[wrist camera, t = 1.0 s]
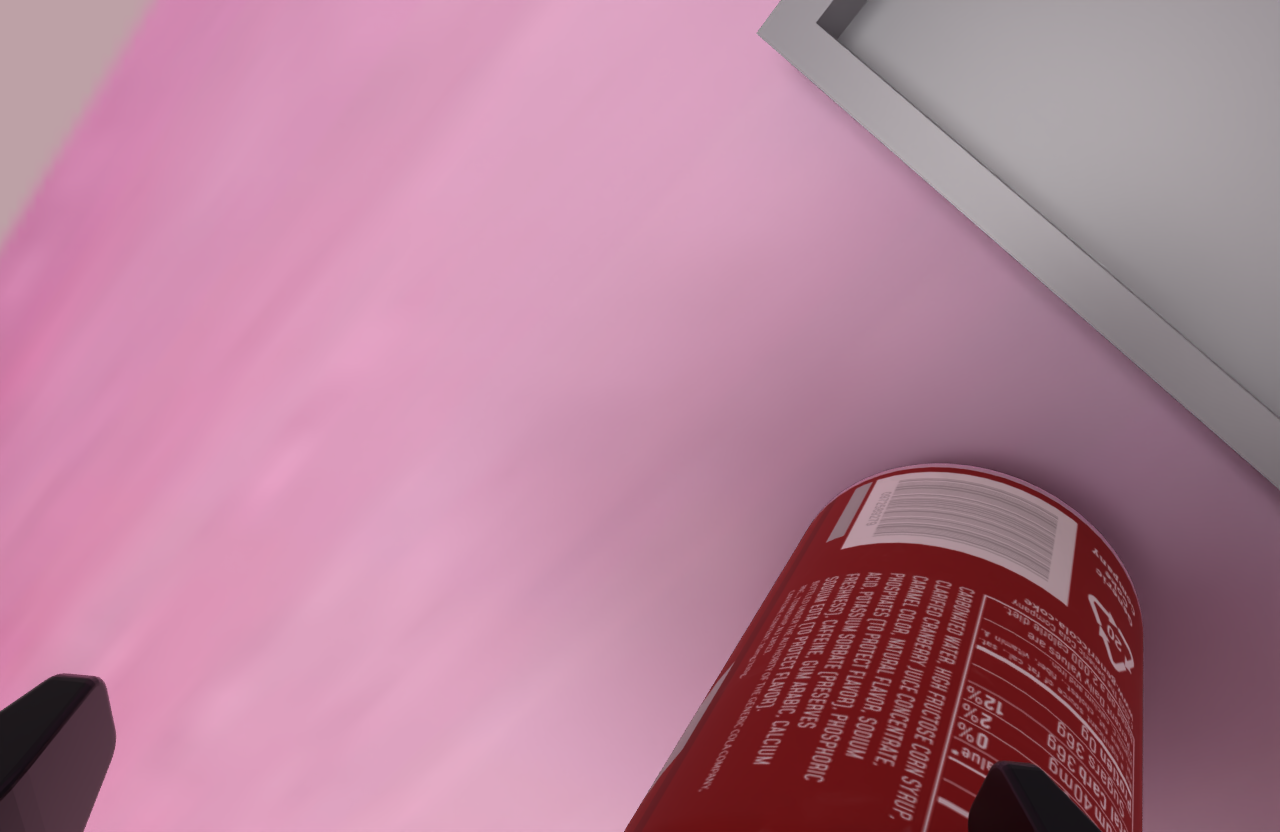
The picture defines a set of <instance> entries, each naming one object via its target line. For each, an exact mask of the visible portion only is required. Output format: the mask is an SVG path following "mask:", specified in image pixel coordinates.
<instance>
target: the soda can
mask: <svg viewBox="0 0 1280 832" xmlns="http://www.w3.org/2000/svg"><path fill="white" fill-rule="evenodd" d="M998 761H1014V762H1025V763H1031V764H1034V765H1036V766H1038V767H1039V768H1041V769H1042V770H1043V771H1044V772H1045V773H1046V774H1047V775H1048V776H1049V777H1050V778H1051V779H1052V780H1053V781H1054V782H1055V783H1056V784H1057V785H1058V786H1059V787H1060V788H1061V789H1062V790H1063V791H1064V793H1065V794H1066V795H1067V796H1068V797H1069V798H1070V799H1071V800H1072V801H1073V802H1074V803H1075V804H1076V805H1077V806H1078V807H1079V808H1080V809H1081V810H1082V811H1083V812H1084V813H1085V814H1086V815H1087V816H1088V817H1089V818H1090V819H1091V820H1092V821H1093V823H1094V824H1095V825H1096V826H1097V827H1098V828H1099V829H1100V830H1101V831H1102V832H1142V796H1143V621H1142V614H1141V608H1140V604H1139V600H1138V597H1137V593H1136V590H1135V588H1134V585H1133V583H1132V580H1131V578H1130V576H1129V574H1128V572H1127V570H1126V569H1125V567H1124V565H1123V563H1122V561H1121V560H1120V558H1119V557H1118V555H1117V554H1116V552H1115V551H1114V549H1113V548H1112V547H1111V545H1110V544H1109V543H1108V542H1107V541H1106V539H1105V538H1104V537H1103V536H1102V535H1101V533H1100V532H1099V531H1098V530H1097V529H1096V528H1095V527H1094V526H1093V525H1092V524H1091V523H1089V522H1088V521H1087V520H1086V519H1085V518H1084V517H1083V516H1081V515H1080V514H1079V513H1078V512H1077V511H1075V510H1074V509H1073V508H1071V507H1070V506H1069V505H1067V504H1066V503H1064V502H1063V501H1061V500H1060V499H1058V498H1057V497H1055V496H1053V495H1052V494H1050V493H1048V492H1046V491H1044V490H1043V489H1041V488H1039V487H1037V486H1034V485H1032V484H1030V483H1028V482H1026V481H1024V480H1021V479H1018V478H1016V477H1013V476H1010V475H1007V474H1004V473H1001V472H997V471H993V470H990V469H985V468H980V467H975V466H969V465H960V464H946V463H930V464H916V465H910V466H904V467H898V468H894V469H891V470H887V471H883V472H880V473H878V474H875V475H872V476H870V477H867V478H865V479H863V480H861V481H859V482H857V483H855V484H853V485H852V486H850V487H849V488H847V489H846V490H844V491H842V492H841V493H840V494H838V495H837V496H836V497H835V498H833V499H832V500H831V501H830V502H829V503H828V504H827V505H826V506H825V507H824V508H823V509H822V510H821V511H820V512H819V514H818V515H817V516H816V517H815V519H814V520H813V521H812V523H811V525H810V526H809V528H808V529H807V531H806V533H805V534H804V536H803V538H802V539H801V541H800V543H799V544H798V546H797V548H796V549H795V551H794V553H793V554H792V556H791V557H790V559H789V561H788V562H787V564H786V566H785V567H784V569H783V571H782V572H781V574H780V576H779V577H778V579H777V581H776V582H775V584H774V585H773V587H772V589H771V590H770V592H769V594H768V595H767V597H766V599H765V600H764V602H763V604H762V605H761V607H760V609H759V610H758V612H757V613H756V615H755V617H754V618H753V620H752V622H751V623H750V625H749V627H748V628H747V630H746V632H745V633H744V635H743V636H742V638H741V640H740V641H739V643H738V645H737V646H736V648H735V650H734V651H733V653H732V655H731V656H730V658H729V660H728V661H727V663H726V664H725V666H724V668H723V669H722V671H721V673H720V674H719V676H718V678H717V679H716V681H715V683H714V684H713V686H712V688H711V689H710V691H709V692H708V694H707V696H706V697H705V699H704V701H703V702H702V704H701V706H700V707H699V709H698V711H697V712H696V714H695V716H694V717H693V719H692V720H691V722H690V724H689V725H688V727H687V729H686V730H685V732H684V734H683V735H682V737H681V739H680V740H679V742H678V744H677V745H676V747H675V748H674V750H673V752H672V753H671V755H670V757H669V758H668V760H667V762H666V763H665V765H664V767H663V768H662V770H661V772H660V773H659V775H658V776H657V778H656V780H655V781H654V783H653V785H652V786H651V788H650V790H649V791H648V793H647V795H646V796H645V798H644V799H643V801H642V803H641V804H640V806H639V808H638V809H637V811H636V813H635V814H634V816H633V818H632V819H631V821H630V823H629V824H628V826H627V827H626V829H625V831H624V832H968V816H969V811H970V808H971V806H972V804H973V802H974V800H975V798H976V796H977V794H978V792H979V790H980V788H981V786H982V784H983V782H984V780H985V778H986V776H987V774H988V772H989V770H990V768H991V767H992V765H993V764H995V763H996V762H998Z"/></svg>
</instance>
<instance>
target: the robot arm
mask: <svg viewBox="0 0 1280 832" xmlns="http://www.w3.org/2000/svg"><path fill="white" fill-rule="evenodd" d="M115 744H116V730H115V725H114V721H113V716H112V711H111V706H110V702H109V697H108V692H107V688H106V685H105V683H104V681H103V680H102V679H101V678H99V677H96V676H88V675H77V674H57V675H55V676H52V677H50V678H48V679H47V680H45V681H44V682H42V683H41V684H39V685H38V686H36V687H35V688H33V689H32V690H31V691H29V692H28V693H26V694H25V695H23V696H22V697H20V698H19V699H17V700H16V701H15V702H13V703H12V704H10V705H9V706H7V707H6V708H4V709H3V710H1V711H0V832H84V829H85V827H86V824H87V821H88V819H89V816H90V814H91V811H92V809H93V806H94V803H95V801H96V798H97V796H98V793H99V791H100V788H101V786H102V783H103V780H104V778H105V775H106V773H107V770H108V768H109V765H110V763H111V760H112V757H113V754H114V750H115ZM968 832H1102V831H1101V830H1100V829H1099V828H1098V827H1097V826H1096V825H1095V824H1094V823H1093V821H1092V820H1091V819H1090V818H1089V817H1088V816H1087V815H1086V814H1085V813H1084V812H1083V811H1082V810H1081V809H1080V808H1079V807H1078V806H1077V805H1076V804H1075V803H1074V802H1073V801H1072V800H1071V799H1070V798H1069V797H1068V796H1067V795H1066V794H1065V793H1064V791H1063V790H1062V789H1061V788H1060V787H1059V786H1058V785H1057V784H1056V783H1055V782H1054V781H1053V780H1052V779H1051V778H1050V777H1049V776H1048V775H1047V774H1046V773H1045V772H1044V771H1043V770H1042V769H1041V768H1039V767H1038V766H1036V765H1034V764H1031V763H1025V762H1014V761H998V762H996V763H995V764H993V765H992V767H991V768H990V770H989V772H988V774H987V776H986V778H985V780H984V782H983V784H982V786H981V788H980V790H979V792H978V794H977V796H976V798H975V800H974V802H973V804H972V806H971V808H970V811H969V816H968Z"/></svg>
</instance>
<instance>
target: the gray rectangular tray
mask: <svg viewBox="0 0 1280 832" xmlns="http://www.w3.org/2000/svg"><path fill="white" fill-rule="evenodd" d="M756 34H758V35H759V36H760V37H761V38H762V39H763V40H764V41H766V42H767V43H768V44H769V45H770V46H771V47H773V48H774V49H775V50H776V51H777V52H778V53H779V54H781V55H782V56H783V57H784V58H785V59H786V60H787V61H789V62H790V63H791V64H792V65H793V66H794V67H795V68H797V69H798V70H799V71H800V72H801V73H802V74H803V75H805V76H806V77H807V78H808V79H809V80H810V81H811V82H813V83H814V84H815V85H816V86H817V87H818V88H819V89H821V90H822V91H823V92H824V93H825V94H826V95H828V96H829V97H830V98H831V99H832V100H833V101H834V102H836V103H837V104H838V105H839V106H840V107H841V108H842V109H844V110H845V111H846V112H847V113H848V114H849V115H850V116H852V117H853V118H854V119H855V120H856V121H857V122H858V123H860V124H861V125H862V126H863V127H864V128H865V129H866V130H868V131H869V132H870V133H871V134H872V135H873V136H874V137H876V138H877V139H878V140H879V141H880V142H881V143H883V144H884V145H885V146H886V147H887V148H888V149H889V150H891V151H892V152H893V153H894V154H895V155H896V156H897V157H899V158H900V159H901V160H902V161H903V162H904V163H905V164H907V165H908V166H909V167H910V168H911V169H912V170H913V171H915V172H916V173H917V174H918V175H919V176H920V177H921V178H923V179H924V180H925V181H926V182H927V183H928V184H929V185H931V186H932V187H933V188H934V189H935V190H936V191H938V192H939V193H940V194H941V195H942V196H943V197H944V198H946V199H947V200H948V201H949V202H950V203H951V204H952V205H954V206H955V207H956V208H957V209H958V210H959V211H960V212H962V213H963V214H964V215H965V216H966V217H967V218H968V219H970V220H971V221H972V222H973V223H974V224H975V225H976V226H978V227H979V228H980V229H981V230H982V231H983V232H984V233H986V234H987V235H988V236H989V237H990V238H991V239H993V240H994V241H995V242H996V243H997V244H998V245H999V246H1001V247H1002V248H1003V249H1004V250H1005V251H1006V252H1007V253H1009V254H1010V255H1011V256H1012V257H1013V258H1014V259H1015V260H1017V261H1018V262H1019V263H1020V264H1021V265H1022V266H1023V267H1025V268H1026V269H1027V270H1028V271H1029V272H1030V273H1031V274H1033V275H1034V276H1035V277H1036V278H1037V279H1038V280H1040V281H1041V282H1042V283H1043V284H1044V285H1045V286H1046V287H1048V288H1049V289H1050V290H1051V291H1052V292H1053V293H1054V294H1056V295H1057V296H1058V297H1059V298H1060V299H1061V300H1062V301H1064V302H1065V303H1066V304H1067V305H1068V306H1069V307H1070V308H1072V309H1073V310H1074V311H1075V312H1076V313H1077V314H1078V315H1080V316H1081V317H1082V318H1083V319H1084V320H1085V321H1086V322H1088V323H1089V324H1090V325H1091V326H1092V327H1093V328H1095V329H1096V330H1097V331H1098V332H1099V333H1100V334H1101V335H1103V336H1104V337H1105V338H1106V339H1107V340H1108V341H1109V342H1111V343H1112V344H1113V345H1114V346H1115V347H1116V348H1117V349H1119V350H1120V351H1121V352H1122V353H1123V354H1124V355H1125V356H1127V357H1128V358H1129V359H1130V360H1131V361H1132V362H1133V363H1135V364H1136V365H1137V366H1138V367H1139V368H1140V369H1141V370H1143V371H1144V372H1145V373H1146V374H1147V375H1148V376H1150V377H1151V378H1152V379H1153V380H1154V381H1155V382H1156V383H1158V384H1159V385H1160V386H1161V387H1162V388H1163V389H1164V390H1166V391H1167V392H1168V393H1169V394H1170V395H1171V396H1172V397H1174V398H1175V399H1176V400H1177V401H1178V402H1179V403H1180V404H1182V405H1183V406H1184V407H1185V408H1186V409H1187V410H1188V411H1190V412H1191V413H1192V414H1193V415H1194V416H1195V417H1196V418H1198V419H1199V420H1200V421H1201V422H1202V423H1203V424H1205V425H1206V426H1207V427H1208V428H1209V429H1210V430H1211V431H1213V432H1214V433H1215V434H1216V435H1217V436H1218V437H1219V438H1221V439H1222V440H1223V441H1224V442H1225V443H1226V444H1227V445H1229V446H1230V447H1231V448H1232V449H1233V450H1234V451H1235V452H1237V453H1238V454H1239V455H1240V456H1241V457H1242V458H1243V459H1245V460H1246V461H1247V462H1248V463H1249V464H1250V465H1251V466H1253V467H1254V468H1255V469H1256V470H1257V471H1258V472H1260V473H1261V474H1262V475H1263V476H1264V477H1265V478H1266V479H1268V480H1269V481H1270V482H1271V483H1272V484H1273V485H1274V486H1276V487H1277V488H1278V489H1279V490H1280V0H781V1H780V2H779V3H778V5H777V6H776V7H775V9H774V10H773V12H772V13H771V14H770V16H769V17H768V18H767V20H766V21H765V22H764V24H763V25H762V26H761V28H760V29H759V30H758V32H757V33H756Z"/></svg>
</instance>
